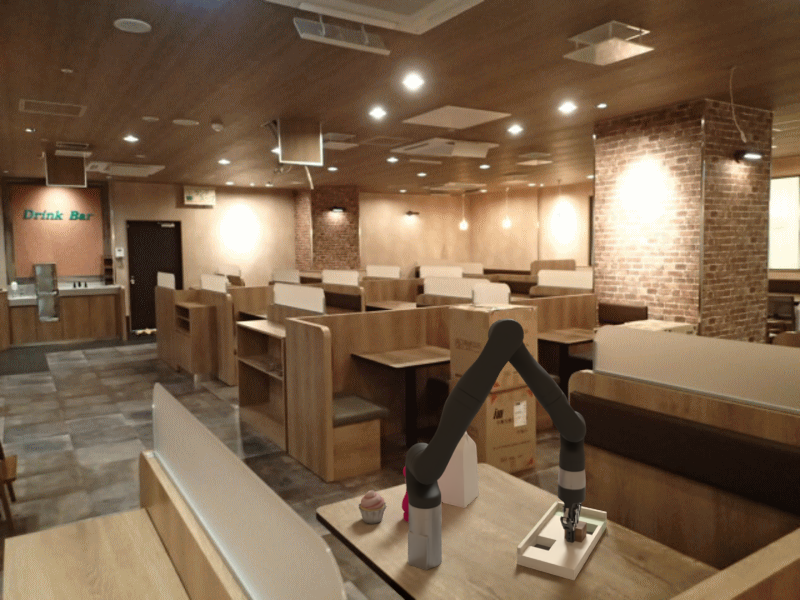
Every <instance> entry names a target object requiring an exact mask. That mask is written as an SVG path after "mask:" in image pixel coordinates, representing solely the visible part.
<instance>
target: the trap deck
mask: <svg viewBox="0 0 800 600" xmlns="http://www.w3.org/2000/svg"><path fill="white" fill-rule="evenodd" d="M563 505H564V502H563V501H559V500H555V502H554V503H553V504H552V505H551V506H550V508H549V509H548V510H547V511H546V512H545V513H544V514H543V516H541V518H540V519H539V520H538V522H537V523H536V524H535V525H534V527H532V529H531V530H530V531H529V532H528V534H527V535H526V536H525V537H524V538H523V540H521V542H520V543H519V544H518V545H517V547H516V565H518V566H523V567H526V568H529V569H532V570H537V571H540V572H543V573H547V574H551V575H554V576H557V577H559V578H560V577H561V578H564V579H567V580H571V581H576V578H577V576H578V575H579V573H580V572H581V570H582V568H583V567H584V565H585V564H586V562H587V560H588V558H589V557H590V555H591V553H593V550H594V548H595V547H596V545H597V544H598V542H599V540H600V539H601V537H602V535H603V534H604V532H605V530H606V529H607V522H608V521H607V520H608V519H607V515H608V513H607V511H603V510H599V509H595V508H590V507H586V506H583V505H582V506H581V511H580V516H579V521H583V522H587V533H586V537H585V538H584V540H583V541H582V543H580V542H577V541H574V542H573V543H571V542H567V541H566V539H565V538H564V529H563V526H562V524H561V521H560V517H561V516H562V517H563V511H562V508H563Z"/></svg>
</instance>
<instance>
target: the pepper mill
mask: <svg viewBox="0 0 800 600" xmlns="http://www.w3.org/2000/svg"><path fill="white" fill-rule="evenodd" d="M402 474H403V476H404V477H405V478H404V483H405V485H406V473H405V466H404V467H403V469H402ZM401 508H402V510H403V514H402V515H403V521H405V522H407V523H409V502H408V493H407V489H405V494H404V497H403V498H402V502H401Z"/></svg>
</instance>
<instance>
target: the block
mask: <svg viewBox="0 0 800 600" xmlns="http://www.w3.org/2000/svg"><path fill="white" fill-rule="evenodd" d="M586 533H587V522H583V521H579V522H578V524H577V527H576V528H575V541H577V542H580V543H582V541H583V540H584V538H585V537H586ZM564 538H565V539H566V530H565V529H564Z"/></svg>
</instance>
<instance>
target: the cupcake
mask: <svg viewBox="0 0 800 600" xmlns="http://www.w3.org/2000/svg"><path fill="white" fill-rule="evenodd" d="M387 507H388V506H387V502H385V499H384V498H383V497H382V495H381V494H380V493H378V492H375V491H374V489H370V490H368V491H367V492H366V493H365V494H364V495H363V497H362V498H361V500H360V503H358V509H359V512H360V515H361V518H362V521H363V522H364V523H366V524H370V525H374V524H379V523H380V522H381V521H382V520H383V518H384V512H385V510H386V508H387Z"/></svg>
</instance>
